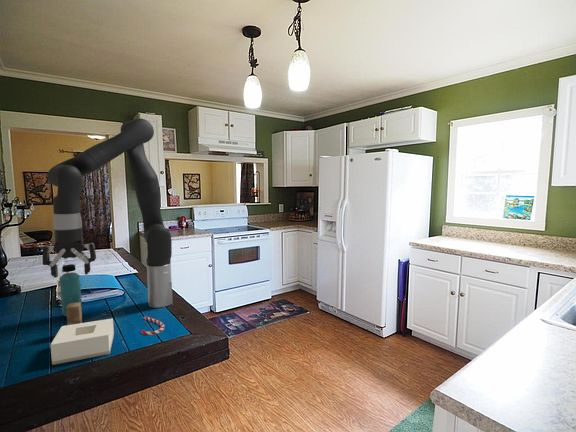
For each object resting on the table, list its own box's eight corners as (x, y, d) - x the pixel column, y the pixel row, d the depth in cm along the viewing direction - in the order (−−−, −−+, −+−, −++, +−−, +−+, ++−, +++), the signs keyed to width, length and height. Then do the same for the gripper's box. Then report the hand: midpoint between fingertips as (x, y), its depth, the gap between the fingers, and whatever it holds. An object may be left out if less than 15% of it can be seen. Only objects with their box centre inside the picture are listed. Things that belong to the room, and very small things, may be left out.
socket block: (113, 335, 103) (112, 318, 102) (109, 353, 92) (108, 334, 91) (63, 344, 97) (61, 326, 96) (52, 364, 86) (50, 344, 85)
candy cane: (154, 313, 118) (168, 327, 107) (154, 317, 118) (168, 331, 107) (132, 319, 113) (145, 334, 102) (132, 323, 113) (145, 338, 102)
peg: (82, 329, 106) (80, 302, 105) (80, 334, 103) (78, 305, 102) (70, 331, 105) (68, 303, 104) (68, 336, 102) (66, 307, 101)
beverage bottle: (72, 320, 113) (68, 268, 111) (57, 319, 115) (53, 266, 112) (87, 313, 120) (83, 263, 117) (72, 312, 121) (69, 262, 119)
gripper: (95, 224, 107) (98, 270, 108) (44, 226, 101) (48, 274, 103) (91, 227, 100) (94, 276, 101) (37, 229, 94) (41, 281, 96)
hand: (71, 275), depth 102 cm, fingers open, 8 cm apart
